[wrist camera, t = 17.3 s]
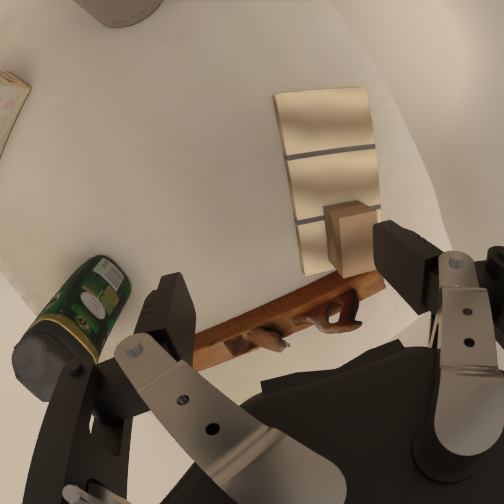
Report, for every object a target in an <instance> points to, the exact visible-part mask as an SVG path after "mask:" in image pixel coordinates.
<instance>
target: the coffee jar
mask: <svg viewBox="0 0 504 504" xmlns="http://www.w3.org/2000/svg"><path fill="white" fill-rule="evenodd" d="M129 295H130V286H129V283H128V281H127V280H126V278H125V276H124V275H123V274H122V272H121V271H120V270H119V269H118V268H117V267H116V266H115V265H114V264H113V263H112V262H111V261H109V260H108V259H106V258H103V257H94V258H91V259H90V260H88V261H87V262H85V263H84V264H82V265H81V266H80V267H79V268H78V269H77V270H76V271H75V272H74V273H73V274H72V275H71V277H70V278H69V279H68V280H67V281H66V282H65V284H64V285H63V286H62V287H61V289H60V290H59V291H58V292H57V293H56V295H55V296H54V297H53V298H52V299H51V300H50V302H49V303H48V304H47V305H46V306H45V308H44V309H43V310H42V312H41V313H40V314H39V315H38V317H37V318H36V319H35V321H34V322H33V323H32V325H31V326H30V327H29V329H28V330H27V331H26V333H25V334H24V335H23V337H22V338H21V340H20V342H19V343H18V344H17V345H16V346H15V347H14V351H13V354H12V365H13V369H14V372H15V376H16V378H17V379H18V380H19V381H20V382H21V383H22V384H23V385H24V386H25V387H26V388H27V389H28V390H29V391H30V392H31V393H33V394H34V395H35V396H36V397H37V398H39V399H40V400H41V401H43V402H50V399H51V396H52V394H53V391H54V388H55V386H56V383H57V380H58V378H59V375H60V373H61V371H62V369H63V367H64V366H65V365H66V363H68V362H69V361H70V360H71V359H73V358H75V357H77V356H80V355H88V356H90V357H91V358H92V359H93V361H94V362H95V364H98V360H99V357H100V354H101V351H102V349H103V347H104V345H105V342H106V340H107V338H108V336H109V334H110V332H111V330H112V328H113V326H114V324H115V322H116V320H117V318H118V316H119V315H120V313H121V311H122V309H123V307H124V305H125V303H126V301H127V300H128V298H129Z"/></svg>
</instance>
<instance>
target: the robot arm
mask: <svg viewBox="0 0 504 504" xmlns="http://www.w3.org/2000/svg"><path fill="white" fill-rule="evenodd" d="M74 1H75V2H76V3H77V4H78V5H80V6H81V7H82V8H83V9H85V10H86V11H87V12H88V13H89V14H90V15H92V16H93V17H94V18H95V19H96V20H98V21H99V22H100V23H102V24H103V25H105V26H108V27H115V28H118V27H125V26H129V25H133V24H135V23H137V22H140V21H141V20H143V19H144V18H146V17H148V16H149V15H150V14H151V13H153V12H154V11H155V9H156V8H157V7H158V6H159V5H160V3H161V2H162V0H74ZM372 233H373V259H374V264H375V267H376V269H377V271H378V272H379V273H380V274H381V275H382V276H383V277H384V278H385V279H386V280H387V281H388V283H389V284H390V285H391V286H392V287H393V288H394V289H395V290H396V291H397V292H398V293H399V294H400V295H401V297H402V298H403V299H404V300H405V301H406V302H407V303H408V304H409V305H410V306H411V308H412V309H413V310H414V311H415V312H416V313H417V314H418V315H420V314H423V313H425V312H428V311H431V316H430V322H429V334H428V343H427V347H404V346H403V345H402V343H401V342H400V340H399V339H397V340H394V341H392V342H389V343H386V344H384V345H381V346H378V347H376V348H373V349H370V350H368V351H366V352H364V353H363V354H361V355H359V356H358V357H356V358H355V359H353V360H351V361H349V362H348V363H346V364H344V365H343V366H341V367H339V368H336V369H331V370H321V371H309V372H297V373H293V374H289V375H285V376H281V377H277V378H273V379H269V380H264V381H260V382H261V387H262V392H261V393H259V394H257V395H255V396H253V397H251V398H249V399H248V400H246V401H245V402H244V403H242V404H241V405H240V406H238V405H237V404H236V403H234V402H233V401H232V400H230V399H229V398H228V397H227V396H225V395H224V394H223V393H222V392H220V391H219V390H218V389H217V388H215V387H214V386H213V385H212V384H211V383H209V382H208V381H207V380H206V379H205V378H203V377H202V376H201V375H200V374H199V373H198V372H196V371H195V370H194V369H193V354H194V339H195V325H196V313H195V308H194V305H193V302H192V299H191V297H190V294H189V292H188V289H187V287H186V284H185V281H184V279H183V276H182V274H181V273H180V272H176V273H172V274H168V275H164V276H162V277H161V279H160V282H159V285H158V288H157V290H153V291H152V292H151V293H150V294H149V295H148V296H147V297H146V299H145V301H144V304H143V308H142V310H141V313H140V316H139V319H138V321H137V324H136V327H135V331H134V334H133V335H131V336H128V337H127V338H125V339H124V340H122V341H121V342H120V343H119V344H118V346H117V347H116V349H115V352H114V358H111V359H109V360H106V361H104V362H101V363H99V364H95V362H94V361H93V359H92V358H91V357H90V356H88V355H80V356H77V357H75V358H73V359H71V360H70V361H69V362H68V363H66V365H65V366H64V367H63V369H62V371H61V373H60V375H59V378H58V380H57V383H56V386H55V388H54V391H53V394H52V396H51V399H50V402H49V405H48V408H47V410H46V413H45V416H44V419H43V422H42V426H41V429H40V432H39V435H38V439H37V442H36V446H35V449H34V453H33V457H32V461H31V464H30V469H29V473H28V477H27V482H26V487H25V492H24V497H23V503H22V504H131V503H130V502H129V501H127V498H126V497H127V478H128V462H129V451H130V440H131V430H132V421H133V416H136V415H139V414H141V413H144V412H147V411H150V410H151V411H152V412H153V414H154V415H155V416H156V417H157V419H158V420H159V421H160V422H161V424H162V425H163V426H164V427H165V429H166V430H167V431H168V432H169V433H170V434H171V436H172V437H173V438H174V439H175V440H176V442H177V443H179V445H180V446H181V447H182V448H183V449H184V451H185V452H186V453H187V454H188V455H189V456H190V457H191V458H192V459H193V460H194V461H195V462H194V463H193V464H192V466H191V467H190V468H189V469H188V470H187V472H186V473H185V474H184V475H183V477H182V478H181V479H180V480H179V482H178V483H177V484H176V485H175V486H174V488H173V489H172V490H171V491H170V492H169V494H168V495H167V496H166V497H165V498H164V499H163V501H162V502H161V503H160V504H504V371H502V370H499V369H498V364H497V351H496V342H495V340H496V341H497V342H498V343H499V344H500V345H501V347H502V348H503V349H504V247H503V246H494V247H491V248H489V250H488V253H487V259H486V260H484V261H476V262H474V261H473V259H472V258H471V257H470V256H469V255H467V254H465V253H463V252H459V251H447V252H443V251H441V250H440V249H438V248H437V247H436V246H434V245H433V244H431V243H430V242H427V240H426V239H424V238H423V237H422V238H421V236H420V235H418V234H417V233H415V232H414V231H411V230H408V229H405V228H402V227H401V226H399V225H398V224H396V223H395V222H393V221H392V220H387V221H383V222H379V223H375V224H374V225H373V228H372ZM91 414H92V415H93V416H94V422H93V426H92V431H91V433H90V430H89V422H90V418H91Z"/></svg>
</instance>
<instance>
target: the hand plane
mask: <svg viewBox="0 0 504 504" xmlns="http://www.w3.org/2000/svg"><path fill="white" fill-rule="evenodd" d="M385 287H386V285H385V284H384V280H383V276H382V275H381V274H380V273H379V272H378V271H377V270H373V271H369V272H366V273H362V274H358V275H354V276H351V277H347V278H342V276H341V275H340V274H339V273H338V271H335V272H332V273H330V274H328V275H327V276H325V277H323V278H321V279H318V280H316V281H314V282H312V283H310V284H309V285H306V286H304V287H302V288H299V289H297V290H295V291H293V292H291V293H289V294H287V295H284V296H282V297H280V298H278V299H276V300H273V301H271V302H269V303H267V304H265V305H263V306H260V307H258V308H256V309H254V310H251V311H249V312H247V313H244V314H242V315H240V316H238V317H235V318H233V319H230V320H228V321H226V322H223V323H221V324H219V325H216V326H214V327H212V328H209V329H207V330H204V331H202V332H199V333H197V334H195V339H194V354H193V369H194V370H195V371H196V372H198V371H201V370H203V369H206V368H209V367H212V366H215V365H217V364H220V363H222V362H225V361H228V360H230V359H233V358H235V357H238V356H241V355H243V354H246V353H249V352H251V351H254V350H257V349H259V348H261V347H263V348H266V349H269V350H272V351H275V352H282V351H283V350H284V348H285V347H290V344H289V343H287V342H286V341H285V340H282V338H284V337H287V336H289V335H291V334H293V333H295V332H298V331H300V330H303V329H305V328H308V327H310V326H312V325H315V326H316V327H317V329H318V330H319V331H321V332H323V333H328V334H333V333H343V332H350V331H353V330H355V329H357V328H359V327H360V326H361V325H362V322H361V321H356V320H355V316H356V313H357V311H358V308H359V301H361V300H363V299H365V298H367V297H369V296H370V295H373V294H375V293H377V292H379V291H381V290H383V289H385ZM340 311H341V312H340ZM338 312H340V317H339V320H338V322H336V323H329V321H328V320H329V317H330V316H332V315H334V314H336V313H338Z"/></svg>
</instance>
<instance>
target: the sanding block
mask: <svg viewBox="0 0 504 504" xmlns="http://www.w3.org/2000/svg"><path fill="white" fill-rule="evenodd" d="M323 211H324V219H325V228H326V238H327V248H328V259H329V261H330V263H331V264H332V265H333V266H334V268H335V269H336V270H337V271H338V273H339V274H340V275H341V276H342V278H347V277H351V276H354V275H358V274H362V273H366V272H369V271H373V270H377V269H376V267H375V264H374V259H373V233H372V228H373V225H374V224H375V223H378V222H377V210H375V209H373V208H371V207H370V206H368V205H366V204H364V203H362V202H360V201H358V200H354V201H349V202H344V203H338V204H333V205H328V206H323Z"/></svg>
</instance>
